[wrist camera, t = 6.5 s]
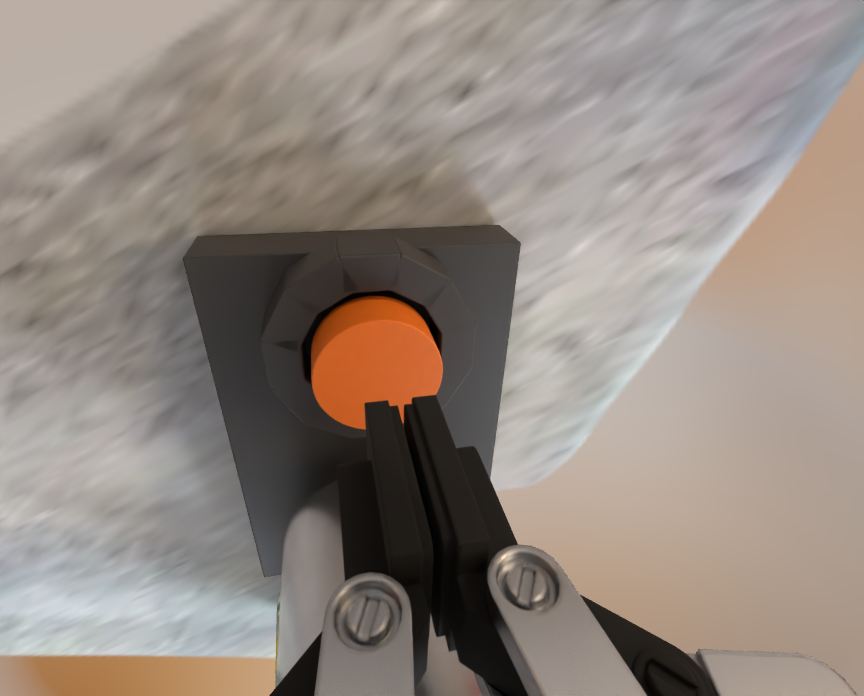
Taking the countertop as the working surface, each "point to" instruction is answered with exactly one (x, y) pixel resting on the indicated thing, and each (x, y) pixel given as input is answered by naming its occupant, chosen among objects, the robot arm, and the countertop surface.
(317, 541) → the kettle
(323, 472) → the push button panel
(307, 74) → the countertop surface
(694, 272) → the countertop surface
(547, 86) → the countertop surface
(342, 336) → the power button
